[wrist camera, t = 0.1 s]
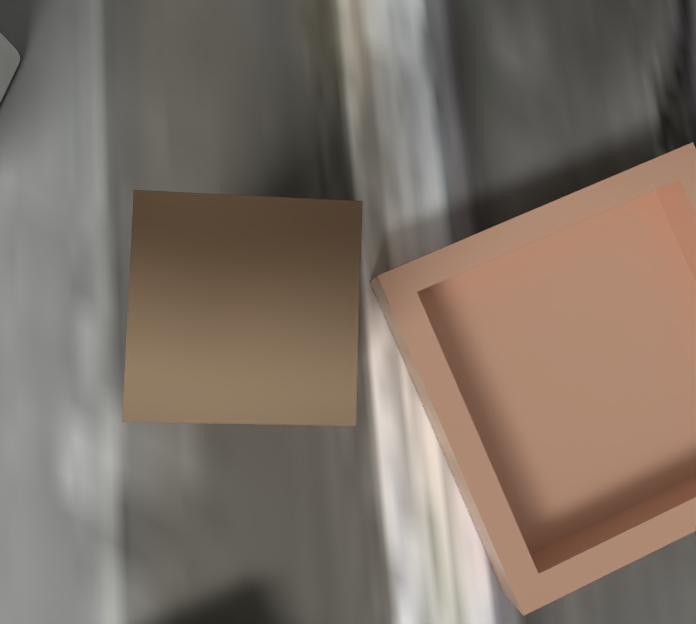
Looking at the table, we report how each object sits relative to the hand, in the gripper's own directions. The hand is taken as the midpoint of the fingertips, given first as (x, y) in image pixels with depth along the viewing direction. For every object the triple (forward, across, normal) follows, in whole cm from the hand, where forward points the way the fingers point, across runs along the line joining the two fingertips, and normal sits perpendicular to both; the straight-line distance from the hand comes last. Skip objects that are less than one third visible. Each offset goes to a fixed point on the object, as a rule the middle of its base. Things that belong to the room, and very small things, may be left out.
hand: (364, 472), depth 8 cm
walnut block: (+14, +2, +6) cm, 15 cm away
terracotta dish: (+13, -10, +7) cm, 18 cm away
